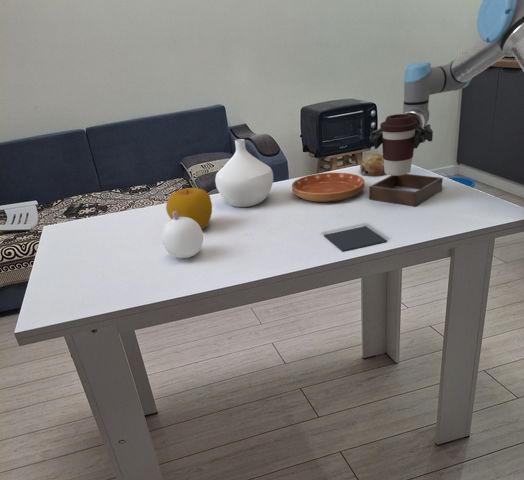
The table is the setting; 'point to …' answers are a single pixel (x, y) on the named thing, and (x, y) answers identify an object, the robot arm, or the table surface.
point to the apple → (191, 205)
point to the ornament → (182, 236)
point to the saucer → (328, 186)
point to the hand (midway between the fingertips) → (395, 143)
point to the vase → (244, 178)
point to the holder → (410, 198)
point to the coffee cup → (398, 143)
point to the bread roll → (373, 165)
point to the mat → (354, 238)
